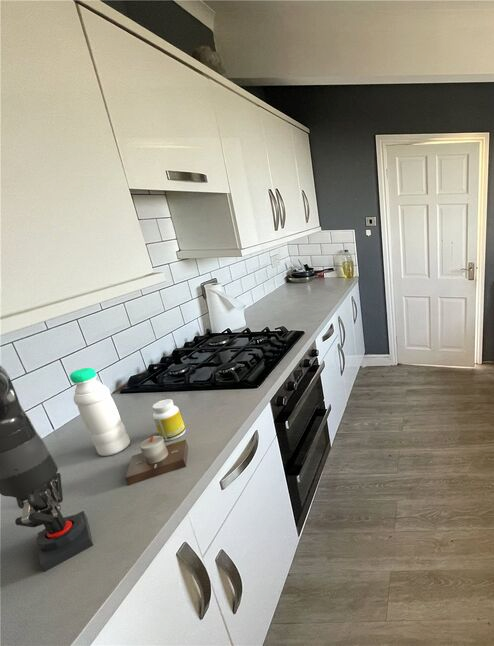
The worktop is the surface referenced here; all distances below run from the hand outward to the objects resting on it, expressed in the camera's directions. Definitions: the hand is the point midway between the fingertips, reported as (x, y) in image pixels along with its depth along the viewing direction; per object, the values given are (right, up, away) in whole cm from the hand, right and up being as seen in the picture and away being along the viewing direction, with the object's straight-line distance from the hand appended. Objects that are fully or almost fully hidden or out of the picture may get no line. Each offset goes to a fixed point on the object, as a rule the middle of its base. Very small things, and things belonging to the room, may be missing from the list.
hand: (58, 529), depth 70 cm
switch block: (0, -4, +2) cm, 4 cm away
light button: (0, -2, +1) cm, 2 cm away
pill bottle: (-1, +8, +34) cm, 35 cm away
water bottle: (-14, +6, +29) cm, 33 cm away
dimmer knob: (+3, +6, +21) cm, 22 cm away
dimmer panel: (+3, +4, +22) cm, 23 cm away
